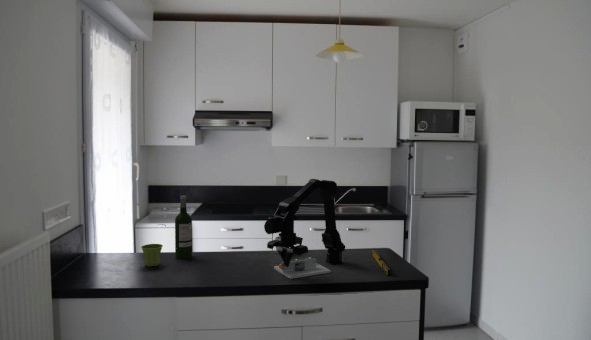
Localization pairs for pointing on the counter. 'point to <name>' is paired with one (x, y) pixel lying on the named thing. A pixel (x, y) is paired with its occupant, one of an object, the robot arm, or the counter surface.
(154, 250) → the plant pot
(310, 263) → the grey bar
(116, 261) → the counter surface
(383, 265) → the spirit level
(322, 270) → the white mechanism board
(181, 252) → the wine bottle
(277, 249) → the cup
